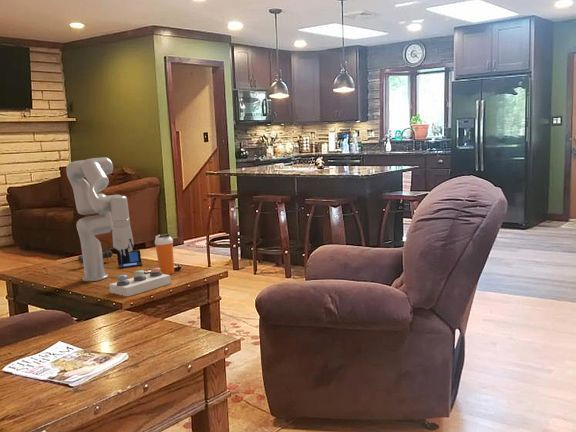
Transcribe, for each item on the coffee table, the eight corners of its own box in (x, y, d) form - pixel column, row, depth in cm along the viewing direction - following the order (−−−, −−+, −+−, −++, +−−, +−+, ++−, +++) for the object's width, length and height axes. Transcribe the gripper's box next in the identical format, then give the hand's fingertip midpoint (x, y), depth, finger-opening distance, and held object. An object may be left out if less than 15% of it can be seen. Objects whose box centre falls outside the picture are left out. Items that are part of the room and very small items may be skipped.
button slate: (115, 279, 274) (115, 276, 274) (124, 277, 277) (123, 274, 277) (121, 281, 271) (120, 277, 271) (129, 278, 274) (129, 275, 274)
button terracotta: (149, 272, 287) (148, 269, 287) (156, 270, 290) (156, 267, 290) (154, 273, 284) (154, 270, 284) (162, 271, 287) (162, 268, 287)
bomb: (110, 240, 349) (58, 249, 330) (118, 250, 343) (66, 261, 324) (108, 255, 355) (57, 265, 336) (116, 266, 348) (64, 277, 329)
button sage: (132, 275, 280) (132, 271, 280) (140, 273, 284) (140, 269, 283) (138, 276, 277) (137, 272, 277) (146, 274, 281) (145, 270, 280)
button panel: (110, 292, 277) (108, 281, 277) (153, 280, 295) (152, 269, 294) (127, 296, 268) (126, 285, 267) (171, 283, 286) (170, 272, 285)
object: (118, 269, 326) (117, 256, 325) (118, 265, 336) (116, 252, 335) (142, 266, 330) (141, 253, 328) (141, 262, 340) (139, 249, 339)
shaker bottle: (174, 274, 302) (169, 235, 299) (156, 276, 303) (152, 236, 300) (177, 270, 311) (173, 232, 308) (160, 271, 312) (156, 233, 309)
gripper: (104, 224, 274) (109, 263, 277) (124, 225, 265) (128, 266, 267) (118, 221, 280) (123, 260, 283) (138, 222, 270) (143, 263, 273)
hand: (126, 263), depth 275 cm, fingers closed
